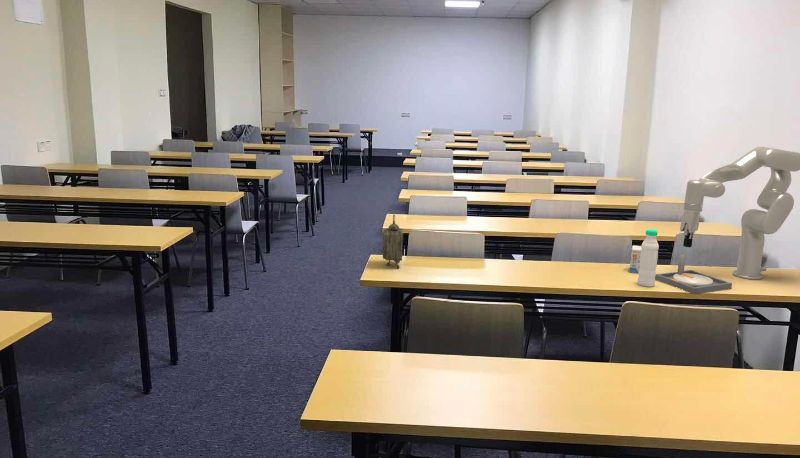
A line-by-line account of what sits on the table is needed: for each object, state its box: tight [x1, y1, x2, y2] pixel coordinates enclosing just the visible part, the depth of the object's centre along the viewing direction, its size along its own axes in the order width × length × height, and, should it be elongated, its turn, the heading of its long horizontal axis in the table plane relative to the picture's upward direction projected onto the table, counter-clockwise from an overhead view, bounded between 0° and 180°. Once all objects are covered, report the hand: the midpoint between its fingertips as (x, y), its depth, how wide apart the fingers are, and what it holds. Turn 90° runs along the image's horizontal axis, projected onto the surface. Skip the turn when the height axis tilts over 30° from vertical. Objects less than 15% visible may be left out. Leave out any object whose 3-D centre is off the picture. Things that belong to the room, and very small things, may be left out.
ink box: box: [628, 245, 642, 274], centre depth 288 cm, size 9×8×12 cm
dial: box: [673, 253, 713, 287], centre depth 269 cm, size 16×16×10 cm
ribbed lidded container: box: [382, 214, 404, 269], centre depth 289 cm, size 14×9×25 cm, turn 179°
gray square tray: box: [655, 269, 733, 295], centre depth 270 cm, size 22×22×3 cm
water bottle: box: [637, 228, 660, 288], centre depth 266 cm, size 7×7×25 cm
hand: (687, 246), depth 278 cm, fingers closed
